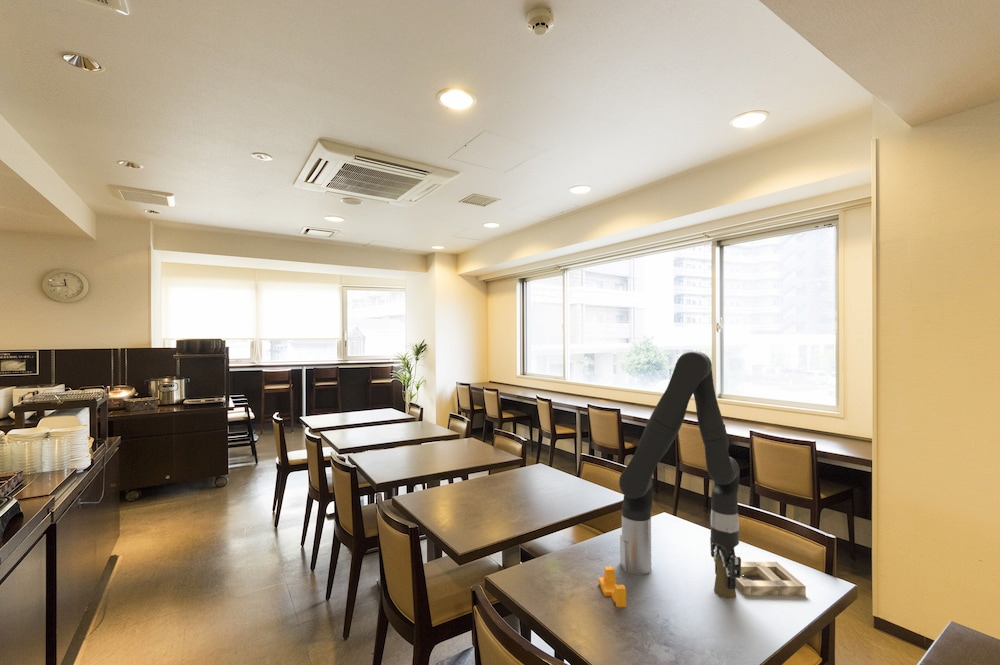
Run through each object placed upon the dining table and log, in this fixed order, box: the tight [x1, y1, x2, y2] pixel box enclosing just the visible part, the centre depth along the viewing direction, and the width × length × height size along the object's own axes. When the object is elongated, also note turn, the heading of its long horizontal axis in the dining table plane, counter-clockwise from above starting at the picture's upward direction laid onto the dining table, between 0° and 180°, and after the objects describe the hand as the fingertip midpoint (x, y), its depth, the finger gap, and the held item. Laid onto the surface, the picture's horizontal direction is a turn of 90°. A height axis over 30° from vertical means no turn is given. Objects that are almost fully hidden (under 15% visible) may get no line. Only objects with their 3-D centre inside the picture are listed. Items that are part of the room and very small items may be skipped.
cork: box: [713, 556, 737, 600], centre depth 133 cm, size 6×6×11 cm
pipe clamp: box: [598, 565, 627, 608], centre depth 131 cm, size 12×4×6 cm, turn 4°
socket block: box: [736, 561, 807, 597], centre depth 139 cm, size 18×14×3 cm
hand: (725, 581), depth 133 cm, fingers open, 6 cm apart
